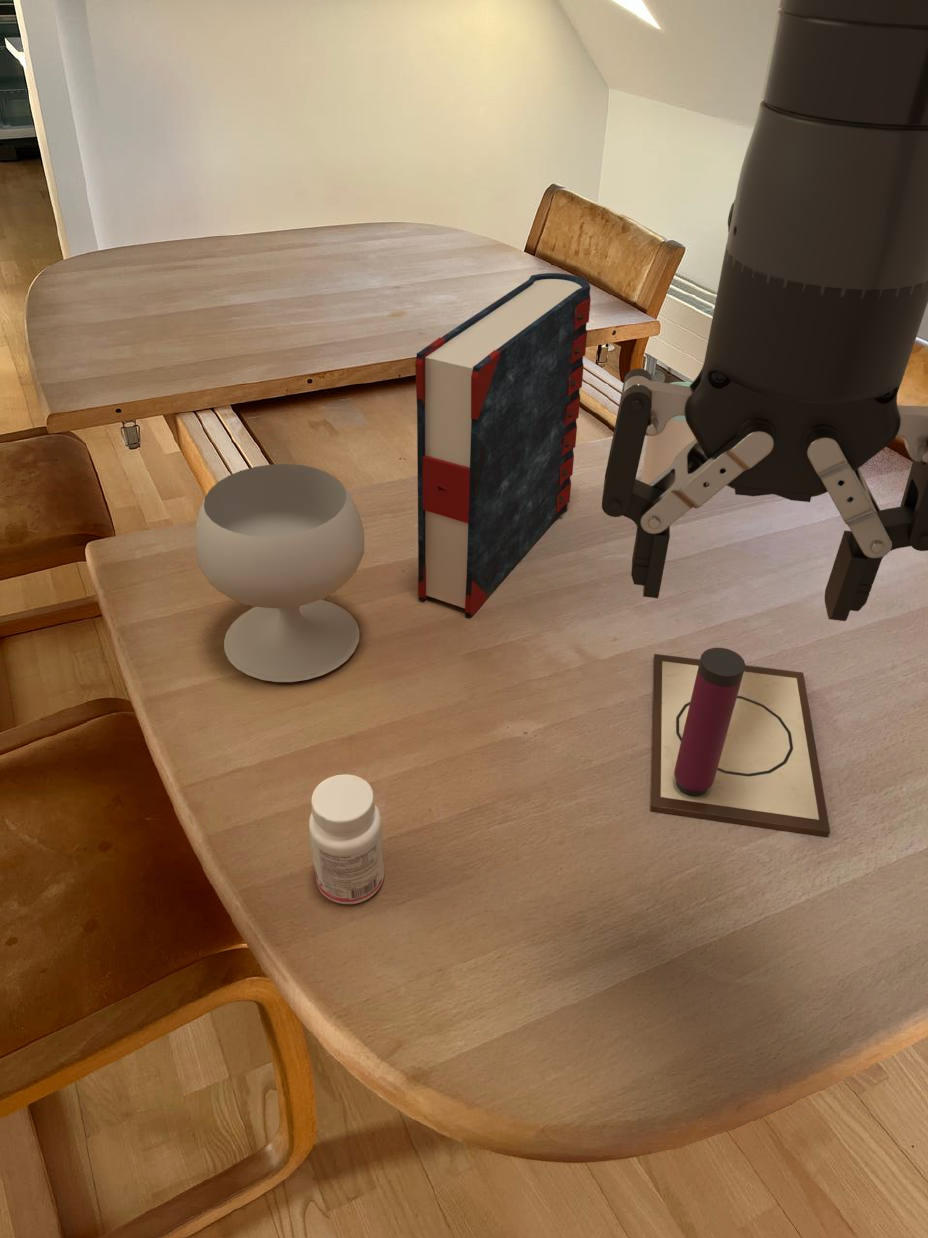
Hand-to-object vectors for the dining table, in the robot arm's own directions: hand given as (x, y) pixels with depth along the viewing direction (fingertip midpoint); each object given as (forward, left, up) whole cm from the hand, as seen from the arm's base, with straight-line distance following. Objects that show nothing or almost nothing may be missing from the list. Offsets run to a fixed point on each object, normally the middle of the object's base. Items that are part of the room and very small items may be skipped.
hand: (741, 599), depth 44 cm
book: (+16, -44, -28) cm, 55 cm away
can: (-1, -60, -28) cm, 66 cm away
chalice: (+33, -25, -28) cm, 50 cm away
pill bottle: (+21, -1, -28) cm, 35 cm away
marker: (-3, -14, -28) cm, 31 cm away
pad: (-6, -20, -28) cm, 35 cm away
